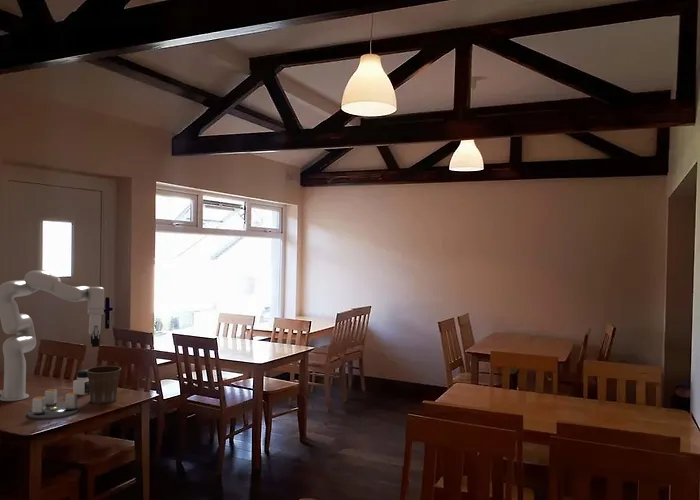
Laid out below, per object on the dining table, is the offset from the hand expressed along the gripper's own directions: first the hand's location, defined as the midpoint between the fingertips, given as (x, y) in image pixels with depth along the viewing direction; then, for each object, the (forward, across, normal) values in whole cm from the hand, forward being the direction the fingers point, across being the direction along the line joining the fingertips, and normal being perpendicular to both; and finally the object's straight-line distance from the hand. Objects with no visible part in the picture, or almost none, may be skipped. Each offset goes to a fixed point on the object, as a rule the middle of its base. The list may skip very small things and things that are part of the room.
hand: (94, 345), depth 287 cm
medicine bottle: (+29, -20, -4) cm, 35 cm away
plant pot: (+29, 0, +4) cm, 29 cm away
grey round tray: (+28, +14, -18) cm, 36 cm away
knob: (+27, +19, -24) cm, 41 cm away
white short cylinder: (+27, +17, -11) cm, 33 cm away
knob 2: (+27, +6, -19) cm, 33 cm away
